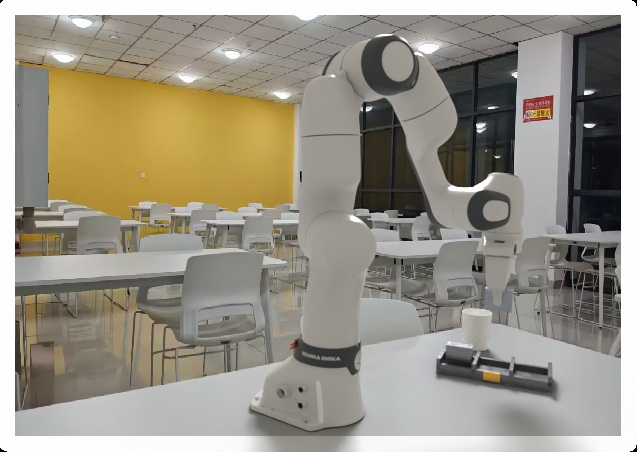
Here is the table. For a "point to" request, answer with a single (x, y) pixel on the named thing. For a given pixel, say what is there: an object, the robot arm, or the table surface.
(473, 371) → the rack
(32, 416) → the table surface
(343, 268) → the robot arm
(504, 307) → the grey upright block
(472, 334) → the white cup
